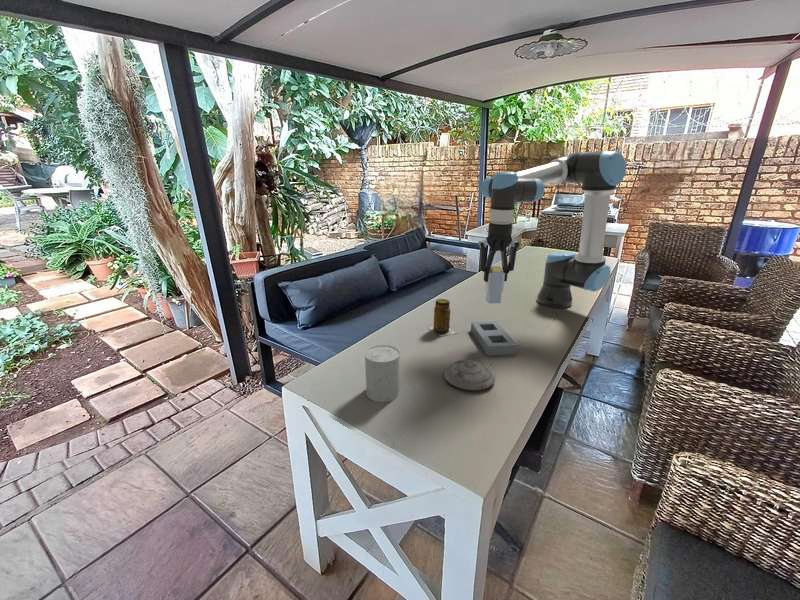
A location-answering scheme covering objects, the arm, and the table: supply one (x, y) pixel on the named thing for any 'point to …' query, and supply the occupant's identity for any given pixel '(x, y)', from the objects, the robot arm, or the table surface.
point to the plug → (495, 285)
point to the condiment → (442, 318)
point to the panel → (493, 338)
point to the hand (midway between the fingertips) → (494, 290)
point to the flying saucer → (469, 375)
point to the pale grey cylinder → (382, 373)
